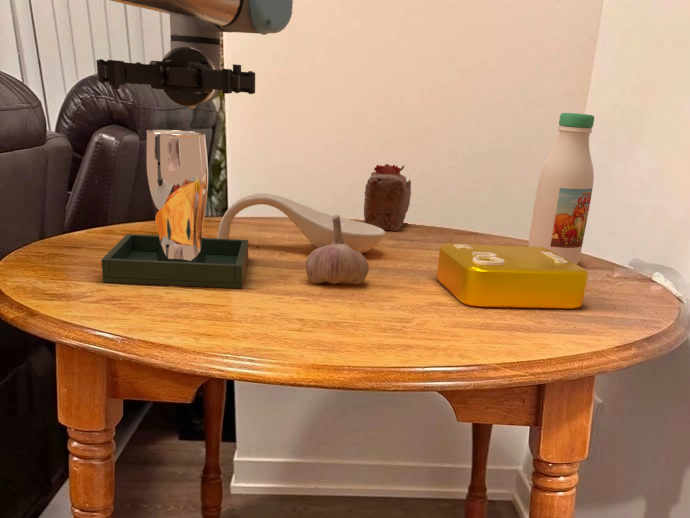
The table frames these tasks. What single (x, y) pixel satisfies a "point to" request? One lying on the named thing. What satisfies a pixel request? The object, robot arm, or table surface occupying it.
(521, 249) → the element tile
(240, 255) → the serving tray
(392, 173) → the food item
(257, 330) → the table surface
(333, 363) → the table surface
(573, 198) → the milk bottle
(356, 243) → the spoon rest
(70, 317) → the table surface
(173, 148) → the beer glass
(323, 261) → the garlic bulb
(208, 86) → the robot arm
